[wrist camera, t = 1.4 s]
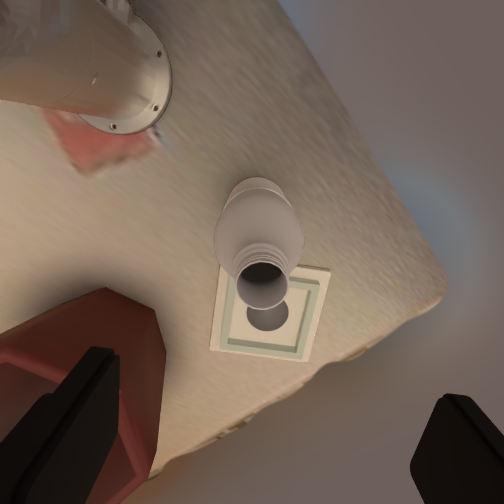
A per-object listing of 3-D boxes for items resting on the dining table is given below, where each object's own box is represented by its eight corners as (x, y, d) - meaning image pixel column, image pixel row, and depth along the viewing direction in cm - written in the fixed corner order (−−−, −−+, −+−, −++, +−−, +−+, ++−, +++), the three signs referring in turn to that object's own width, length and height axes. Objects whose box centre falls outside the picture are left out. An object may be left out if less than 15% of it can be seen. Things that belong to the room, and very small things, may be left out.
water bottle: (258, 240, 42) (266, 363, 18) (217, 205, 41) (168, 291, 17) (295, 201, 40) (356, 280, 17) (254, 162, 39) (256, 190, 15)
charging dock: (222, 253, 43) (220, 260, 40) (329, 269, 43) (333, 276, 41) (210, 345, 47) (207, 356, 45) (306, 358, 48) (309, 369, 46)
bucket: (151, 248, 42) (25, 378, 19) (217, 372, 49) (185, 583, 26) (1, 307, 45) (-270, 484, 22) (82, 416, 52) (-58, 643, 28)
